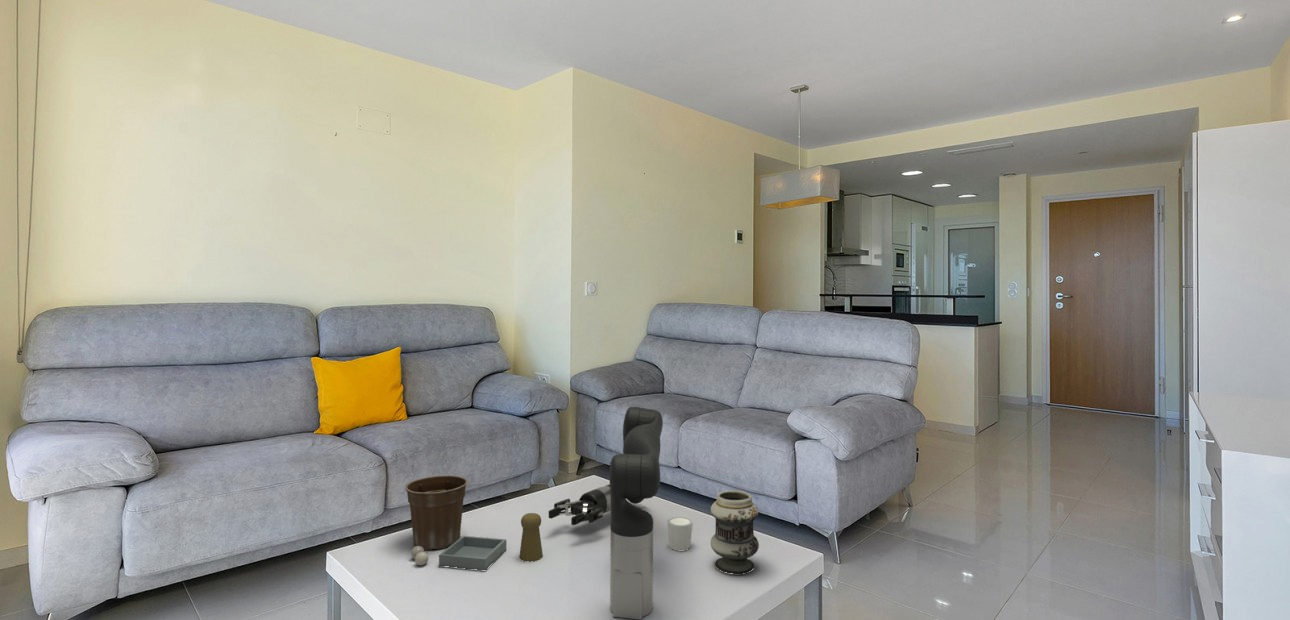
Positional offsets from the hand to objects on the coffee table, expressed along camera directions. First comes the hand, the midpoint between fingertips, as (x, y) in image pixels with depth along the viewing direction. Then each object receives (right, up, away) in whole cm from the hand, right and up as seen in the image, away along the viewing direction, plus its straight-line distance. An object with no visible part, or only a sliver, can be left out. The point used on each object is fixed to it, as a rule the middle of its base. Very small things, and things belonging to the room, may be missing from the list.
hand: (560, 518), depth 164 cm
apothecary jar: (+46, -7, -14) cm, 48 cm away
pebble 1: (-35, -7, -11) cm, 37 cm away
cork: (-6, -7, -9) cm, 13 cm away
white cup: (+33, -7, -2) cm, 33 cm away
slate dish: (-21, -7, -10) cm, 24 cm away
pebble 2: (-33, -7, -14) cm, 36 cm away
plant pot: (-34, -7, 0) cm, 35 cm away
